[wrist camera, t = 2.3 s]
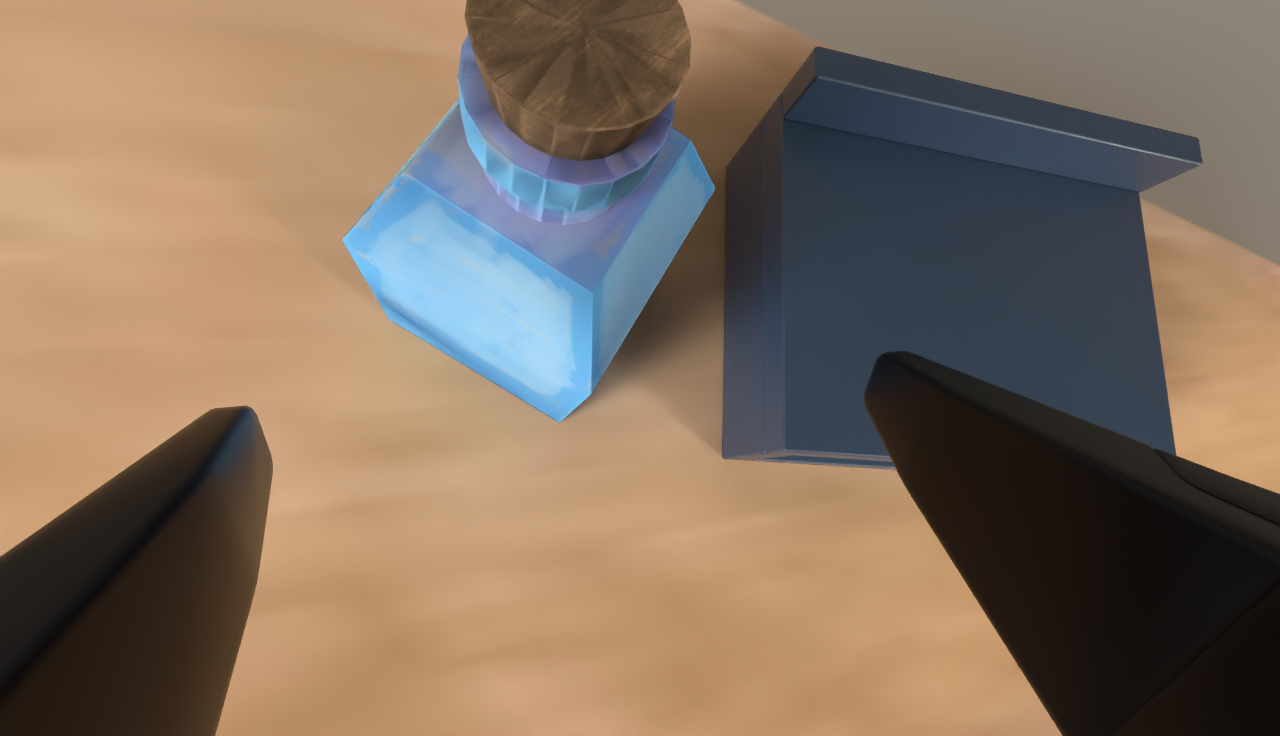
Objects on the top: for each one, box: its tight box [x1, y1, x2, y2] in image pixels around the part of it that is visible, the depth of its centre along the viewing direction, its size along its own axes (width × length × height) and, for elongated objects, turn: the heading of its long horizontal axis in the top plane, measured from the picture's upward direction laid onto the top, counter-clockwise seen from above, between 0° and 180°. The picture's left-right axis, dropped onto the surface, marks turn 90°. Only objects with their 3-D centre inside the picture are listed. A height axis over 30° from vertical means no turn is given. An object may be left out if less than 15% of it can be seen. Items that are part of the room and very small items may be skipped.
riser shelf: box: [722, 47, 1202, 470], centre depth 20 cm, size 11×14×6 cm
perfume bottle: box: [342, 0, 715, 423], centre depth 14 cm, size 6×6×12 cm
